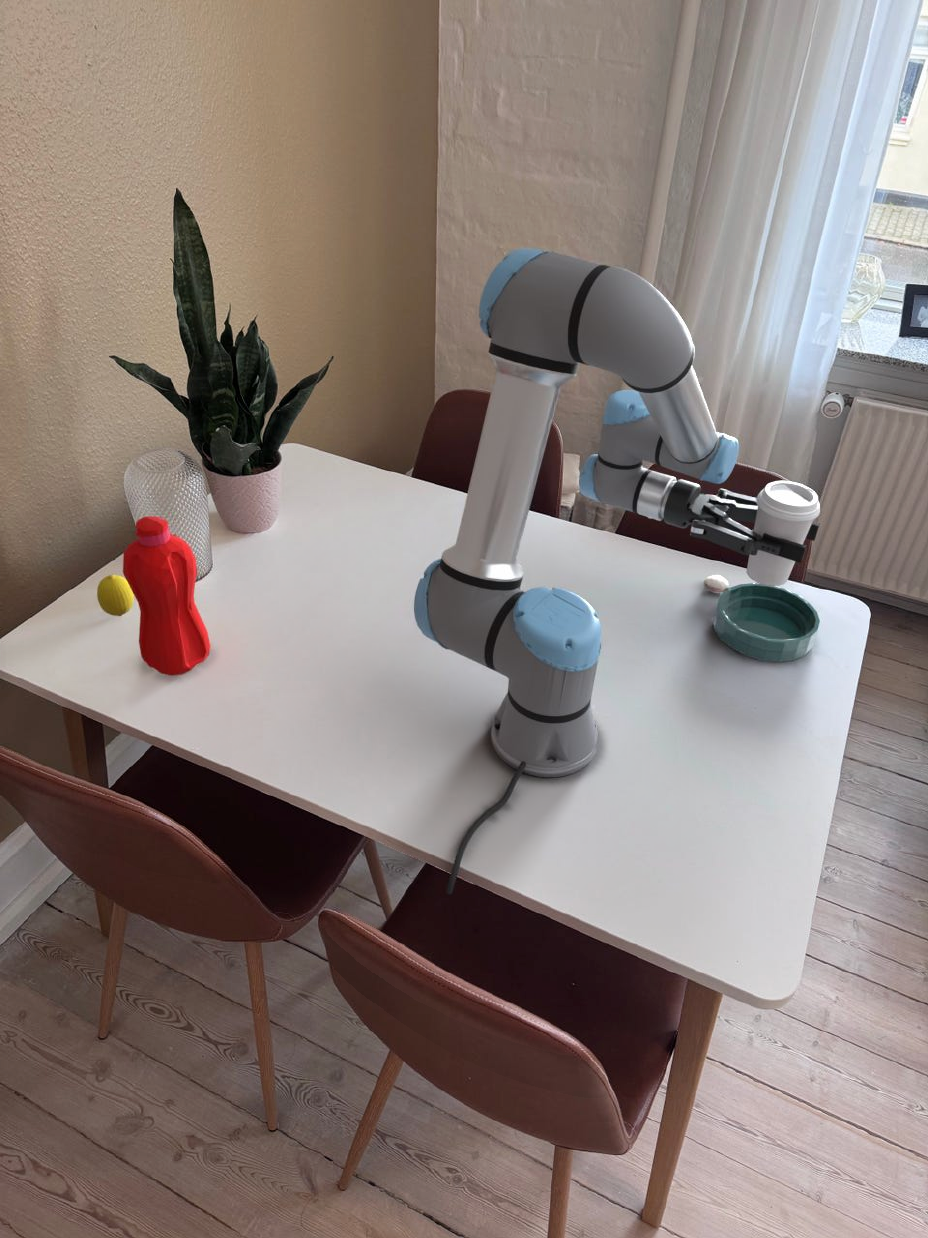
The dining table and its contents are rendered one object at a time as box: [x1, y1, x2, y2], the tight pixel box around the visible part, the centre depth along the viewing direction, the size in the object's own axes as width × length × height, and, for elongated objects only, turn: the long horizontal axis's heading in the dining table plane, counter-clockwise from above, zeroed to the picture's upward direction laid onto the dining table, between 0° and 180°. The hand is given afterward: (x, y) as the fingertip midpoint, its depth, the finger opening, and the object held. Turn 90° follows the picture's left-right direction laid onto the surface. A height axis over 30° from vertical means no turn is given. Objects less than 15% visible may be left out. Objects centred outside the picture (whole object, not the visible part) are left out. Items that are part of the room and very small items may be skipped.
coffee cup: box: [746, 480, 821, 587], centre depth 145 cm, size 10×10×15 cm
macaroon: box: [703, 574, 730, 594], centre depth 166 cm, size 4×5×2 cm
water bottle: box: [122, 515, 211, 677], centre depth 139 cm, size 9×11×25 cm
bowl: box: [712, 582, 821, 662], centre depth 155 cm, size 16×16×4 cm
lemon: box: [96, 574, 135, 617], centre depth 151 cm, size 6×6×8 cm
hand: (810, 543), depth 143 cm, fingers closed on coffee cup, 7 cm apart
